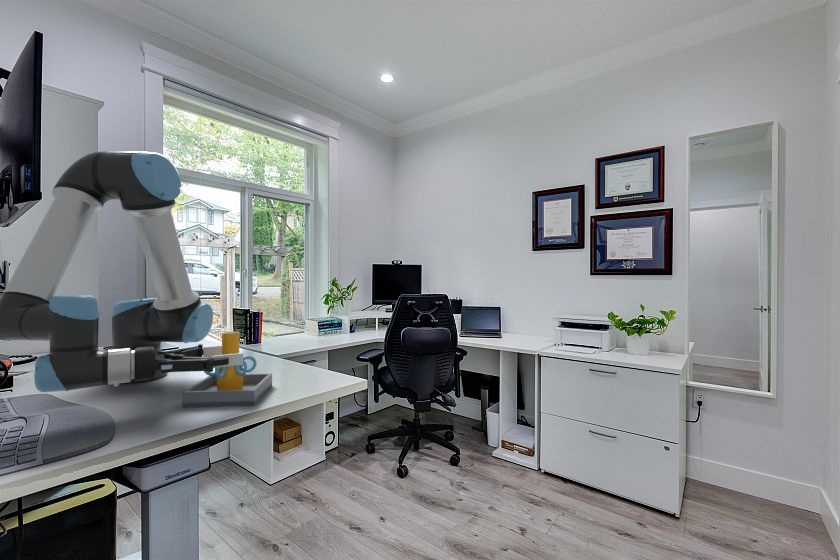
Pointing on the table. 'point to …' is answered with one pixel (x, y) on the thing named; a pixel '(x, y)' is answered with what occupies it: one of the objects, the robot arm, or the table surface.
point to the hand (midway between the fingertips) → (236, 353)
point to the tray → (227, 392)
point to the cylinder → (231, 374)
